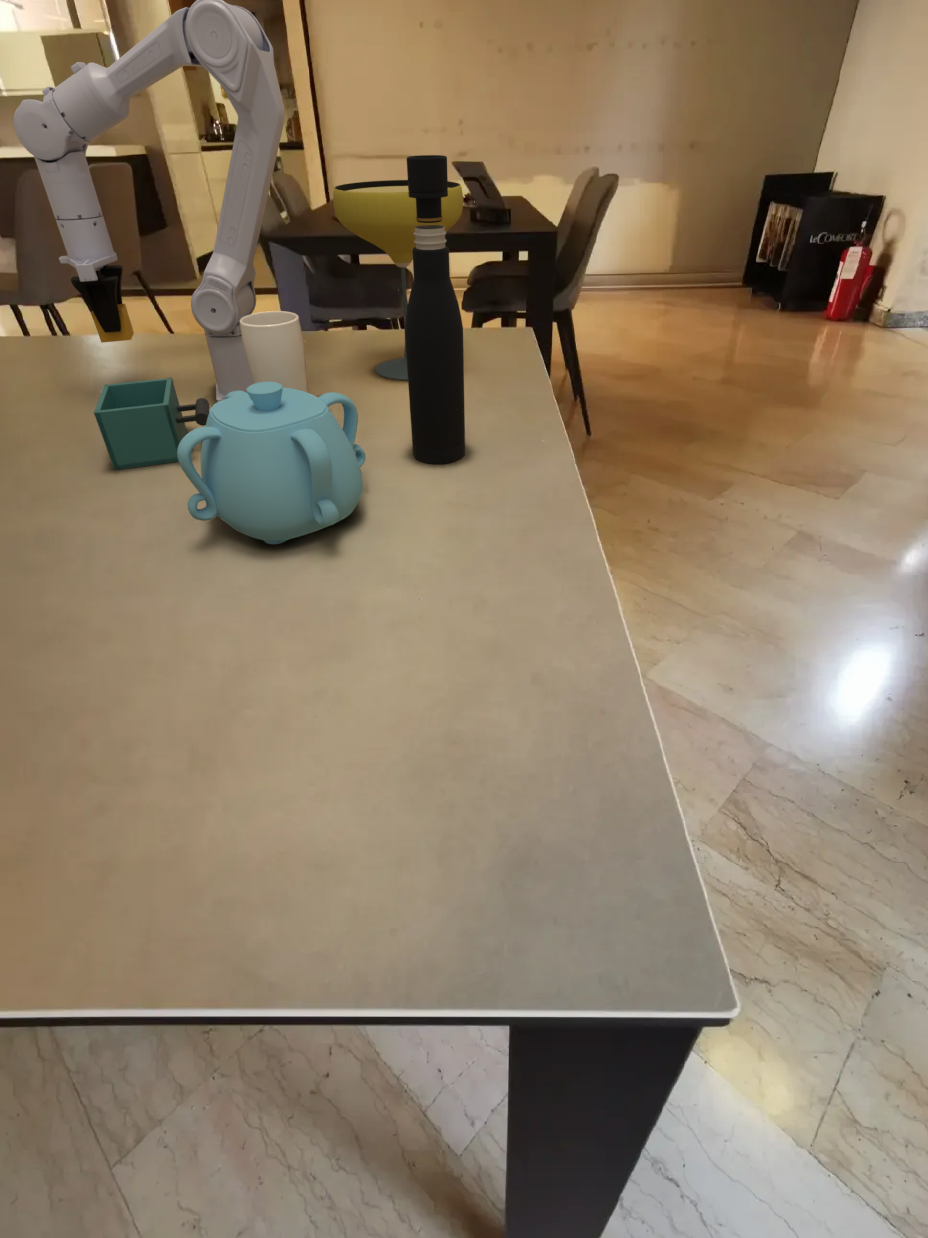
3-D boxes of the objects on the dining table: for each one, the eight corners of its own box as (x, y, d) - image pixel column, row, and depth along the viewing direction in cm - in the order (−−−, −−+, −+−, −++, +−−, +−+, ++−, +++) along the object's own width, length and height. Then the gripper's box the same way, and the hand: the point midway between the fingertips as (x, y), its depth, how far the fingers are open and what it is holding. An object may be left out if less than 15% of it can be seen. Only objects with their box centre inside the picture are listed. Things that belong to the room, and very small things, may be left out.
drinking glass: (253, 448, 84) (225, 321, 75) (288, 429, 89) (266, 308, 79) (295, 458, 81) (272, 328, 72) (329, 438, 86) (311, 314, 77)
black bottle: (459, 466, 79) (452, 158, 60) (407, 462, 80) (384, 158, 61) (469, 444, 84) (466, 153, 65) (420, 441, 85) (403, 154, 66)
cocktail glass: (339, 362, 111) (316, 184, 96) (438, 347, 117) (432, 177, 102) (374, 395, 98) (354, 195, 83) (484, 377, 104) (485, 187, 89)
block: (134, 332, 98) (125, 303, 96) (131, 339, 95) (121, 309, 93) (104, 335, 97) (95, 305, 95) (101, 342, 94) (91, 312, 92)
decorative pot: (178, 548, 65) (133, 412, 57) (252, 475, 78) (224, 355, 69) (334, 564, 62) (312, 424, 54) (386, 486, 75) (373, 362, 66)
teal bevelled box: (216, 427, 90) (203, 374, 85) (217, 456, 82) (202, 400, 78) (122, 438, 87) (104, 384, 83) (114, 470, 80) (93, 412, 75)
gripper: (56, 212, 92) (92, 317, 100) (34, 226, 81) (76, 343, 89) (111, 209, 93) (141, 313, 102) (96, 223, 82) (132, 338, 91)
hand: (114, 327), depth 95 cm, fingers closed on block, 4 cm apart
